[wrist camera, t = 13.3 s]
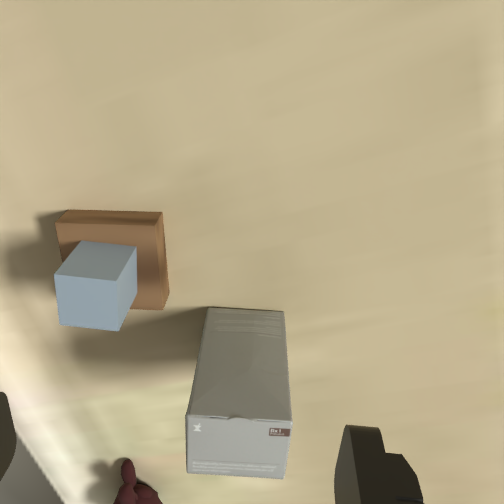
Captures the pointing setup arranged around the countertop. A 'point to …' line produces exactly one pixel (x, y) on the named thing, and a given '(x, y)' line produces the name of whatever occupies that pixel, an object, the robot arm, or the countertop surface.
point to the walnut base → (124, 233)
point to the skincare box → (240, 396)
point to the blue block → (96, 285)
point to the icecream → (134, 488)
